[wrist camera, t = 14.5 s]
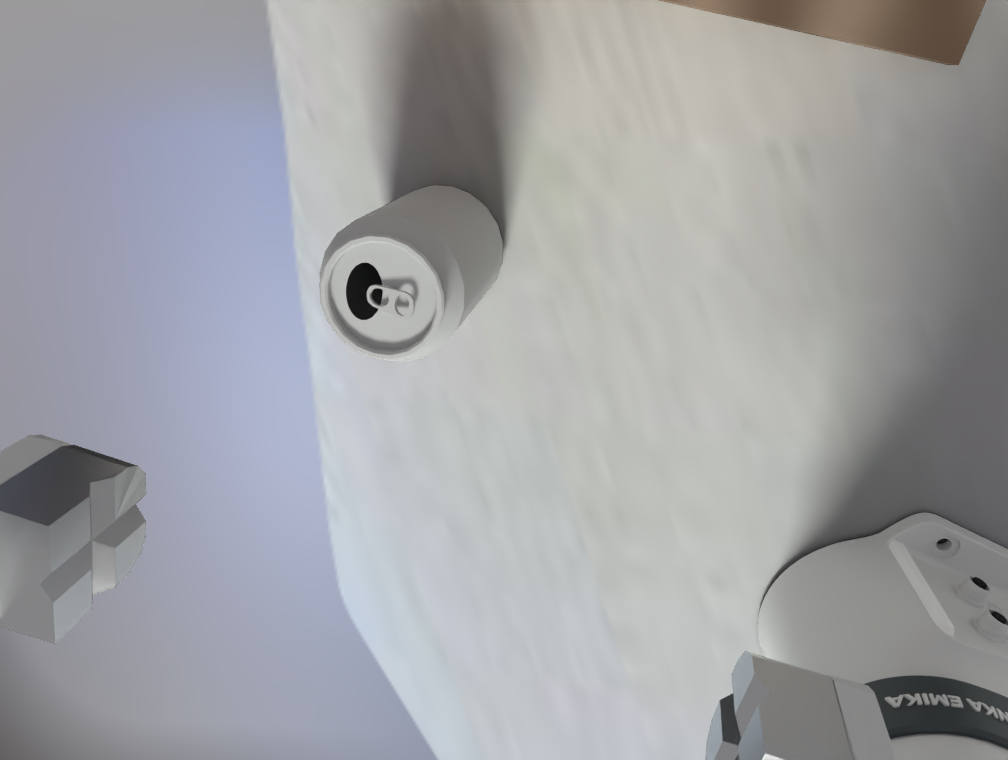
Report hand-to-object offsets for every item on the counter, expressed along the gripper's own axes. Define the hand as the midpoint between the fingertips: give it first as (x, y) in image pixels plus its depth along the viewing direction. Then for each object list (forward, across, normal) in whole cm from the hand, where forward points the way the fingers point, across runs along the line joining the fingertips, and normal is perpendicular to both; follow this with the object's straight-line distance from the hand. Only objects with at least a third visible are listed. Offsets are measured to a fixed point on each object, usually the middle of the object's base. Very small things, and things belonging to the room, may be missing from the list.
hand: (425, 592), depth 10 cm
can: (+37, -9, -6) cm, 39 cm away
